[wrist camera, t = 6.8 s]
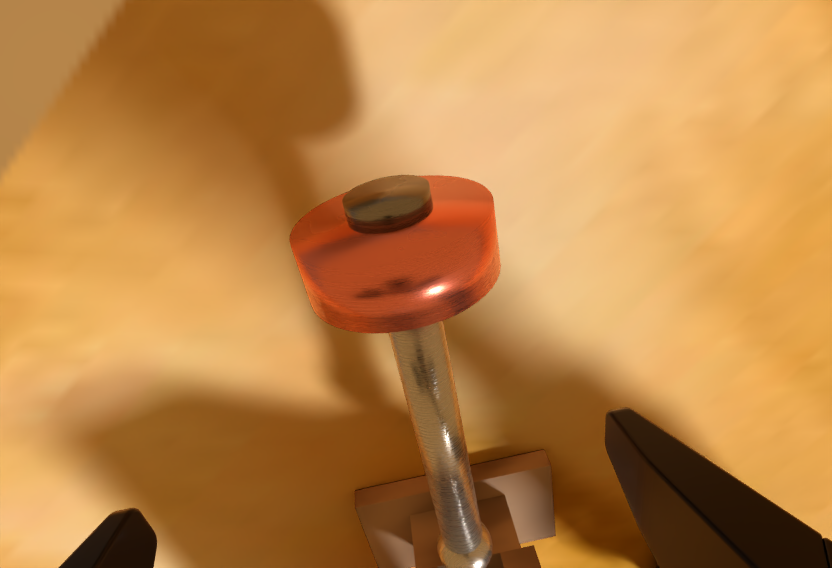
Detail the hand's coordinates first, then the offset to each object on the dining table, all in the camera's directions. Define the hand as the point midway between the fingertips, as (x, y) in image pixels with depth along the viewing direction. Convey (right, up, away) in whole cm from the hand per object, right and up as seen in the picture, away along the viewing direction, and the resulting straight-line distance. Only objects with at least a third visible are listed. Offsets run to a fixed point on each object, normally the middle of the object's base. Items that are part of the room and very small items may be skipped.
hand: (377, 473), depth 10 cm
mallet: (+1, 0, +9) cm, 9 cm away
